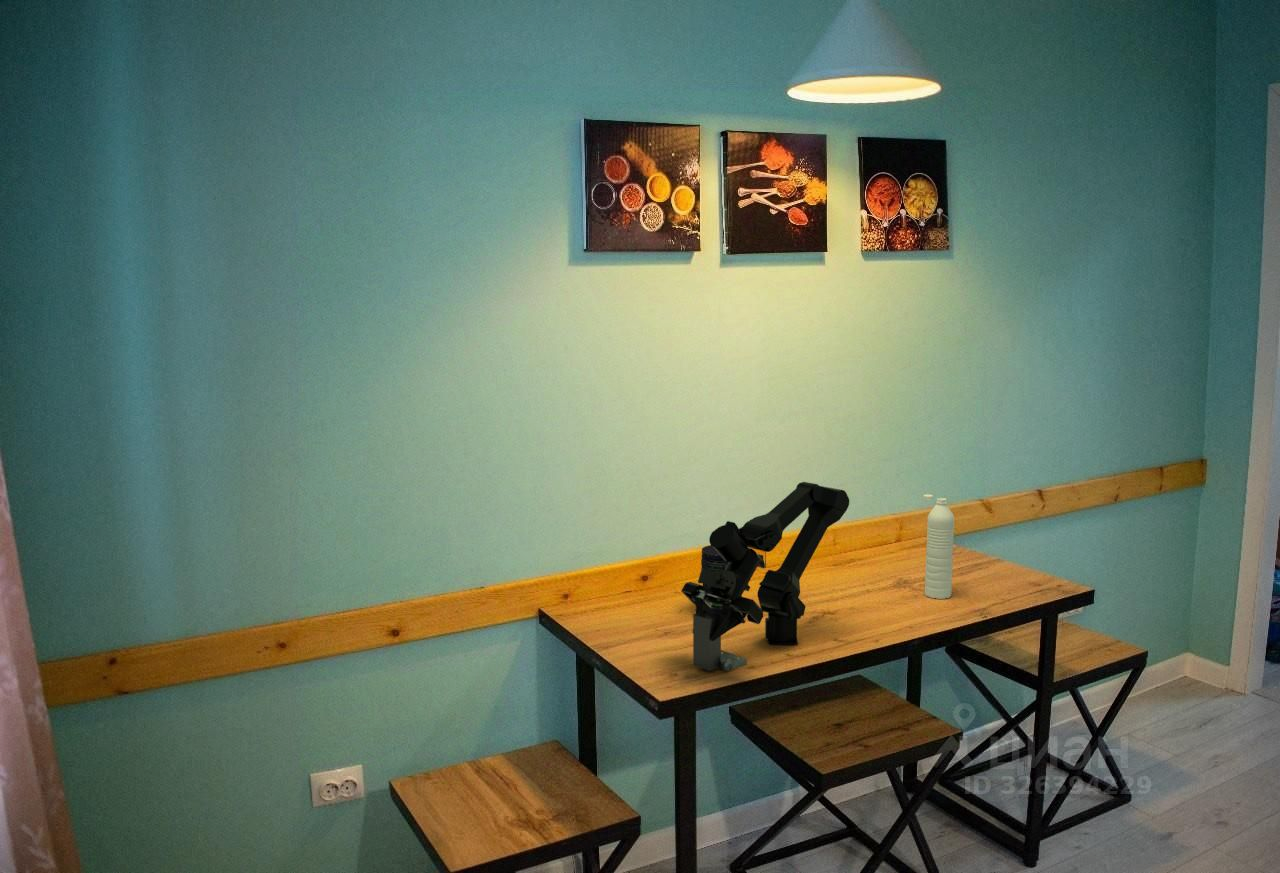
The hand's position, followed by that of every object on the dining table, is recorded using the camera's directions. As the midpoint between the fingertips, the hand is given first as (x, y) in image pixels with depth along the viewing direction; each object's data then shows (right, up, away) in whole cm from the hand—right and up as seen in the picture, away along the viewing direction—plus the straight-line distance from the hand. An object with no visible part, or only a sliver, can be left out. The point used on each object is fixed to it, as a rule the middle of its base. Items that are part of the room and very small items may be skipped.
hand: (702, 637), depth 221 cm
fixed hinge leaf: (+5, -7, +5) cm, 10 cm away
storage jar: (+7, -1, +40) cm, 41 cm away
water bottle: (+61, +1, +51) cm, 80 cm away
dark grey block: (+1, -6, +2) cm, 7 cm away
